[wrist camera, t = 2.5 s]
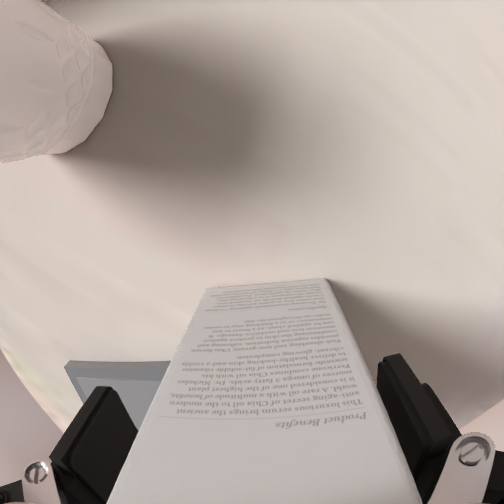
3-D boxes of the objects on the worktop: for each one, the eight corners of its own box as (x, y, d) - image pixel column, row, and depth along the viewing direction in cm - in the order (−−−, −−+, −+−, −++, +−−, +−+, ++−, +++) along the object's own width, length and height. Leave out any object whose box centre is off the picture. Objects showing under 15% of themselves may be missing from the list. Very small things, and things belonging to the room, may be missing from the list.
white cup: (61, 193, 14) (-92, 234, 5) (5, 114, 13) (-118, 113, 3) (154, 78, 12) (8, -8, 3) (78, 13, 11) (-34, -49, 2)
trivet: (239, 356, 16) (238, 366, 15) (270, 473, 19) (269, 482, 18) (69, 360, 17) (63, 367, 16) (133, 467, 20) (130, 474, 19)
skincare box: (218, 357, 16) (161, 565, 5) (205, 285, 15) (91, 508, 3) (330, 349, 16) (380, 563, 4) (330, 275, 14) (431, 508, 3)
